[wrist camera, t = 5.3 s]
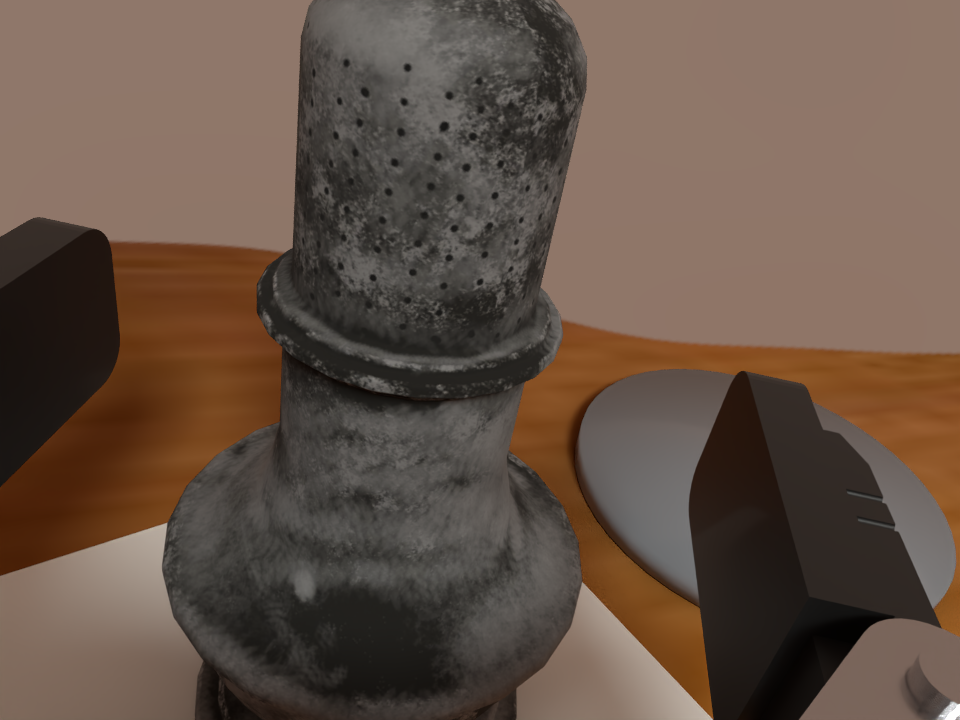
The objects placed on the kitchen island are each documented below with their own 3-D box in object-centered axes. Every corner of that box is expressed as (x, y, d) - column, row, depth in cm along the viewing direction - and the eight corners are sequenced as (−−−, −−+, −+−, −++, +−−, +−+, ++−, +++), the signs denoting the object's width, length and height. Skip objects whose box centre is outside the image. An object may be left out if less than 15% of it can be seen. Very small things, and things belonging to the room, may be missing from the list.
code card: (145, 1350, 7) (144, 1346, 7) (-34, 590, 14) (-36, 584, 13) (775, 790, 13) (778, 785, 13) (442, 438, 19) (443, 433, 19)
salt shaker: (418, 514, 17) (528, -149, 10) (604, 743, 13) (962, -72, 6) (127, 623, 13) (18, -256, 7) (265, 972, 10) (309, -224, 3)
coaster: (800, 723, 14) (814, 704, 14) (502, 434, 20) (506, 415, 19) (1008, 550, 19) (1021, 533, 19) (724, 360, 25) (730, 344, 24)
